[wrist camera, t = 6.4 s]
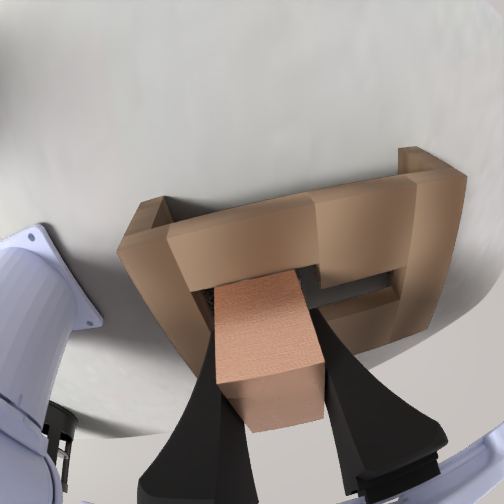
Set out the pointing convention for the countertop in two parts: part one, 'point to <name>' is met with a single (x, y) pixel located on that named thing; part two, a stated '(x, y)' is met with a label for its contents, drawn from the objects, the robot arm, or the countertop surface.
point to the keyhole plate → (307, 253)
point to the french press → (59, 436)
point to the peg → (268, 352)
